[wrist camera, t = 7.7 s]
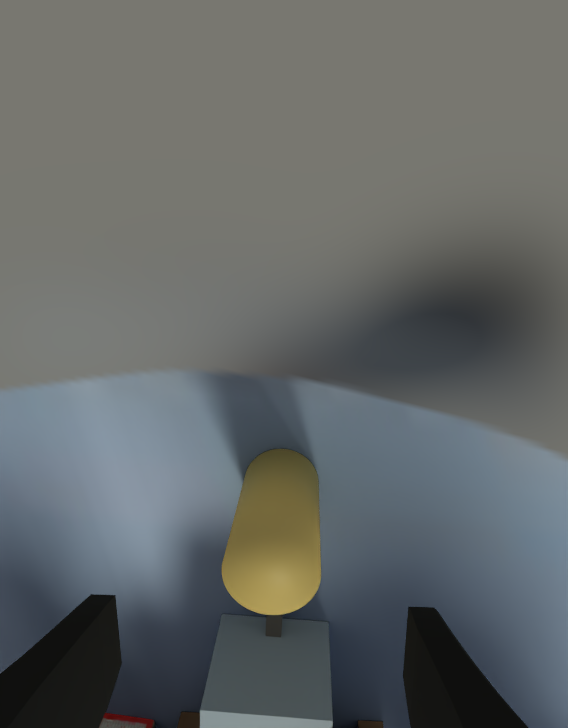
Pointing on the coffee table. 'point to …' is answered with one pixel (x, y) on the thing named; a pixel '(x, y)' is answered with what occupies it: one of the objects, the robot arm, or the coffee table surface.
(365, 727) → the open wooden box
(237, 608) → the coffee table surface
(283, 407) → the coffee table surface
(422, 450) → the coffee table surface
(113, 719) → the stack of blocks
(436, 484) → the coffee table surface
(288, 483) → the cube joystick
